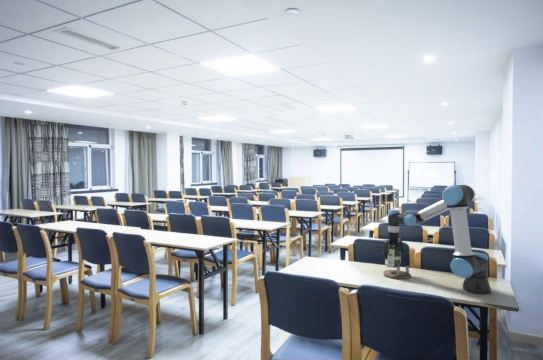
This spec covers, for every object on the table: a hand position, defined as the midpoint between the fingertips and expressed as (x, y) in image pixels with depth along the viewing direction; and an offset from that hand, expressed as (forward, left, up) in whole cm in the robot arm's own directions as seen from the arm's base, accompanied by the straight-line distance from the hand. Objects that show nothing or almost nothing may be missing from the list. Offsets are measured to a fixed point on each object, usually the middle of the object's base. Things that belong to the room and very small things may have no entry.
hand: (392, 263), depth 257 cm
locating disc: (-4, 0, -8) cm, 9 cm away
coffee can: (0, 0, -2) cm, 2 cm away
